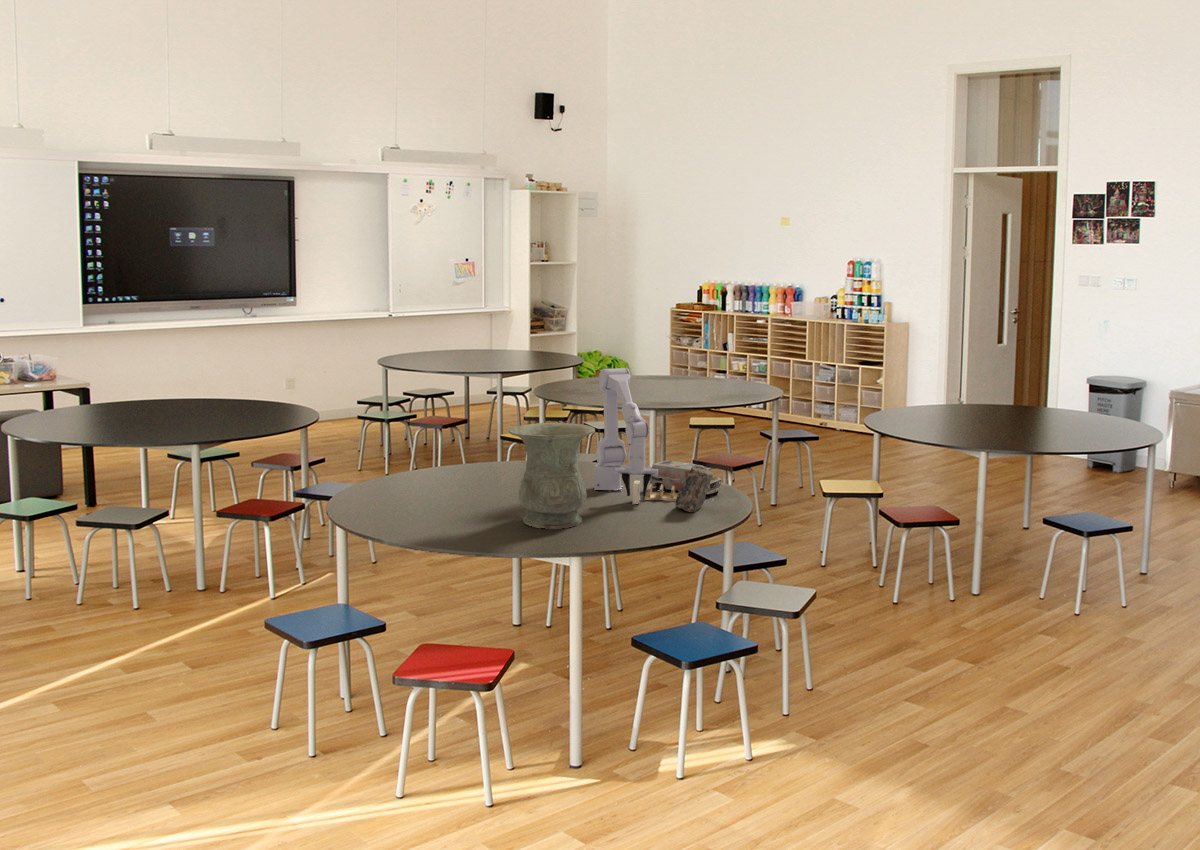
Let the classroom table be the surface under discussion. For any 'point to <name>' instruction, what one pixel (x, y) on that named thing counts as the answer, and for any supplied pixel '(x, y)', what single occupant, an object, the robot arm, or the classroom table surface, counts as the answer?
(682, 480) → the toy car
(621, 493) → the classroom table surface
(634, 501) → the tall cream block
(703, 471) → the stone
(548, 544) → the classroom table surface
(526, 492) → the vessel
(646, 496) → the rack
